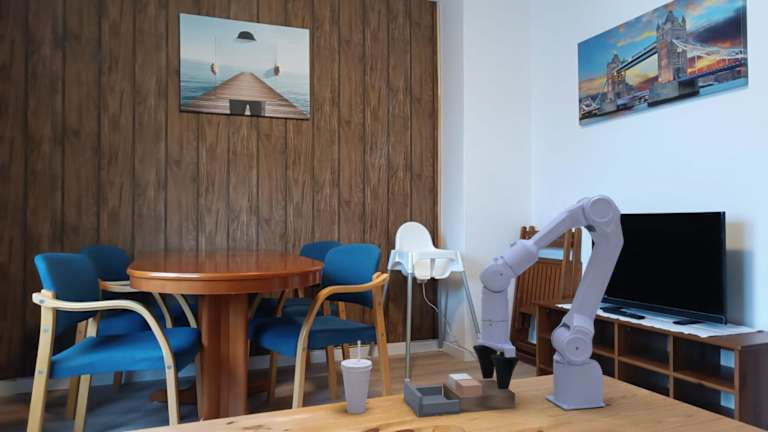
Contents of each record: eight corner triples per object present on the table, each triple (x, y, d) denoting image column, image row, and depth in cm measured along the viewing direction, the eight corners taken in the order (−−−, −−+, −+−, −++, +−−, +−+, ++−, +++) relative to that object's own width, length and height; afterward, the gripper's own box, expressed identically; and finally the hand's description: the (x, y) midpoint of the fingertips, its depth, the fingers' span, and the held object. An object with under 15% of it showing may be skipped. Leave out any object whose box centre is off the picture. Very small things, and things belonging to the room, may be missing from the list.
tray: (441, 396, 115) (441, 377, 115) (459, 413, 104) (459, 393, 104) (403, 399, 113) (403, 380, 113) (418, 417, 102) (418, 396, 102)
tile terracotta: (474, 388, 111) (474, 379, 111) (481, 394, 107) (481, 384, 107) (456, 390, 110) (456, 380, 110) (463, 396, 106) (463, 386, 106)
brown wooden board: (493, 392, 117) (493, 379, 117) (515, 407, 108) (515, 393, 108) (443, 396, 115) (443, 383, 115) (460, 412, 105) (460, 397, 105)
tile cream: (465, 382, 115) (465, 373, 115) (473, 387, 111) (472, 378, 111) (448, 383, 114) (448, 374, 114) (455, 389, 110) (455, 379, 110)
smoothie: (368, 417, 102) (368, 345, 103) (336, 414, 104) (336, 343, 104) (375, 406, 109) (375, 338, 109) (345, 404, 110) (345, 337, 110)
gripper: (464, 314, 119) (464, 375, 118) (492, 326, 104) (492, 395, 104) (493, 313, 120) (493, 373, 120) (524, 325, 106) (525, 392, 106)
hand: (495, 383), depth 112 cm, fingers open, 7 cm apart
